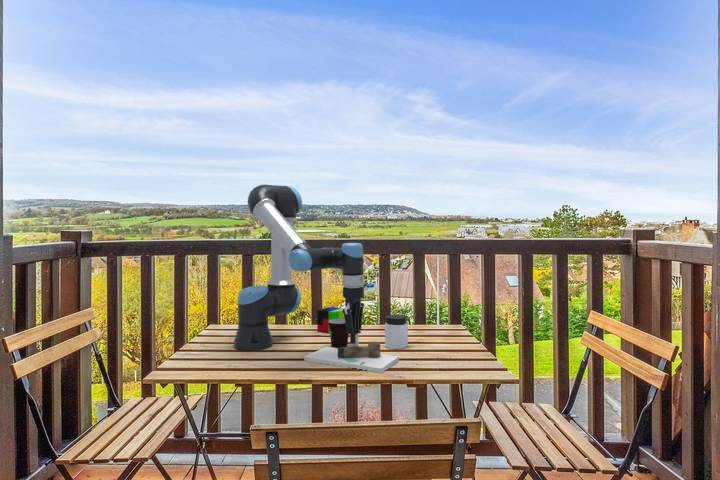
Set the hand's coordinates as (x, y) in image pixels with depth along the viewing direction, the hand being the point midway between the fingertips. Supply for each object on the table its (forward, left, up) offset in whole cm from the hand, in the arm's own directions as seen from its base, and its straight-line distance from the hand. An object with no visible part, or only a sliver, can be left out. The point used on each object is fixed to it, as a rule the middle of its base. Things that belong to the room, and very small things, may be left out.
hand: (354, 351), depth 163 cm
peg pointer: (+3, -1, -1) cm, 3 cm away
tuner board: (0, -2, -3) cm, 3 cm away
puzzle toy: (-29, +35, -3) cm, 46 cm away
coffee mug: (-14, +15, -3) cm, 21 cm away
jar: (+7, +23, -3) cm, 24 cm away
